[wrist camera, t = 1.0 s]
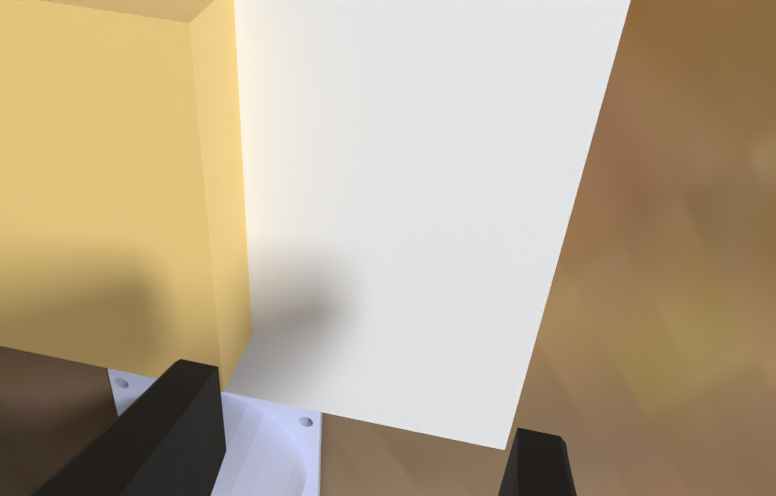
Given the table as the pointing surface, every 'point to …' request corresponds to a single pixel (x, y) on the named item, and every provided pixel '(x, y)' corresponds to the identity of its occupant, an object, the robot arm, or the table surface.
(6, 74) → the yellow rectangular block
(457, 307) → the white box
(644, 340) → the table surface
